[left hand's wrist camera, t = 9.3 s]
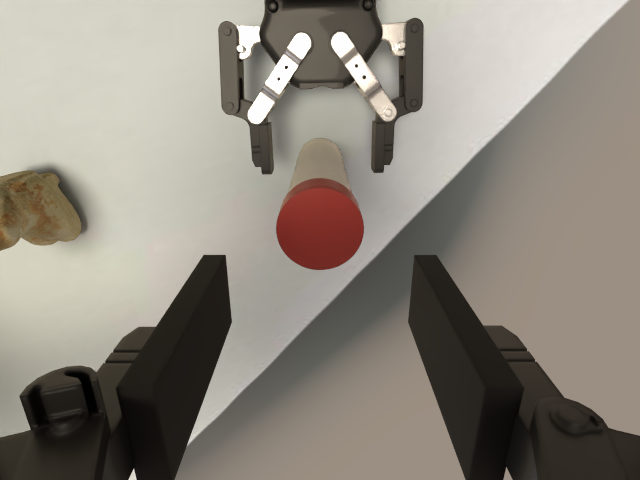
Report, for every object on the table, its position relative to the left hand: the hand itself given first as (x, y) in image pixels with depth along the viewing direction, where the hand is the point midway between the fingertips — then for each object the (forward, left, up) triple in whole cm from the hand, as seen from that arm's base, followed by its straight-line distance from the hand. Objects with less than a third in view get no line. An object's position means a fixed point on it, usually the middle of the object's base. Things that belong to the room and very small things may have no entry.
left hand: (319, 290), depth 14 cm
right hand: (0, 0, -19) cm, 19 cm away
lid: (0, 0, -6) cm, 6 cm away
